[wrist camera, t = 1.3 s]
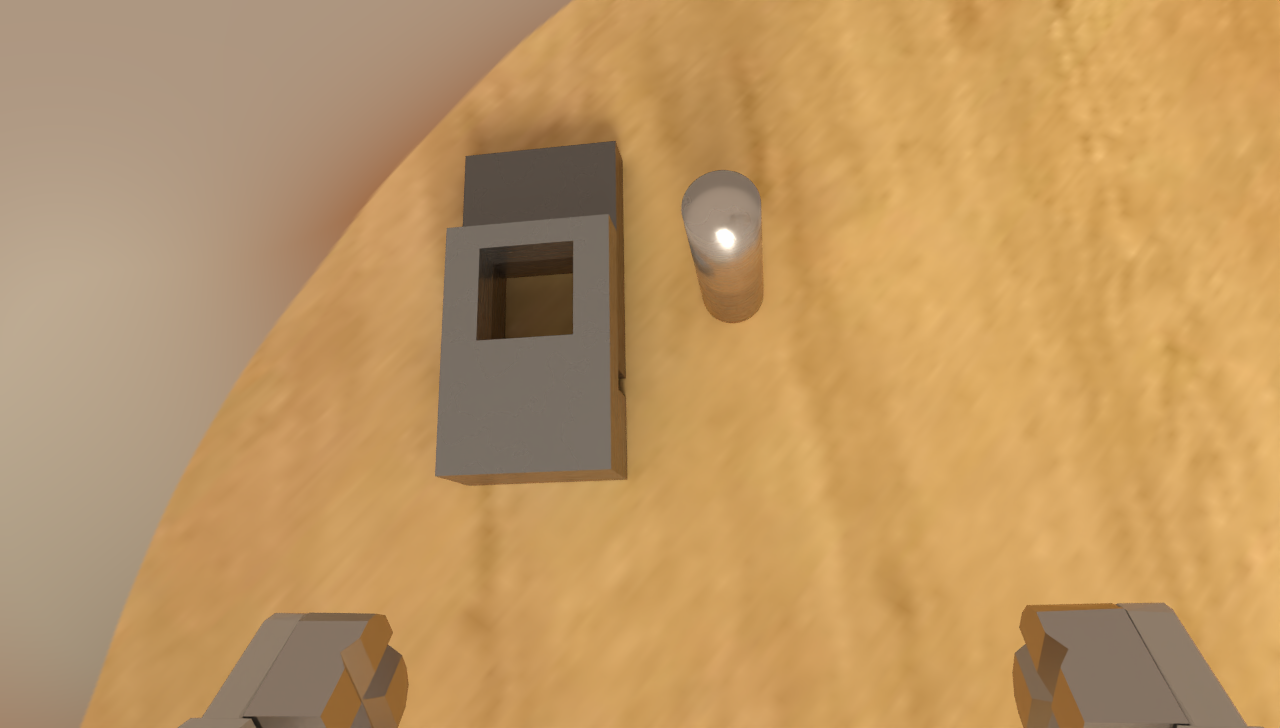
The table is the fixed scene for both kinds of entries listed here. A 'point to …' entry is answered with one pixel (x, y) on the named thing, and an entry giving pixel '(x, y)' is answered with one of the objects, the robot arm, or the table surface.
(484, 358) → the grey socket block
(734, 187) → the steel pin
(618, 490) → the table surface
